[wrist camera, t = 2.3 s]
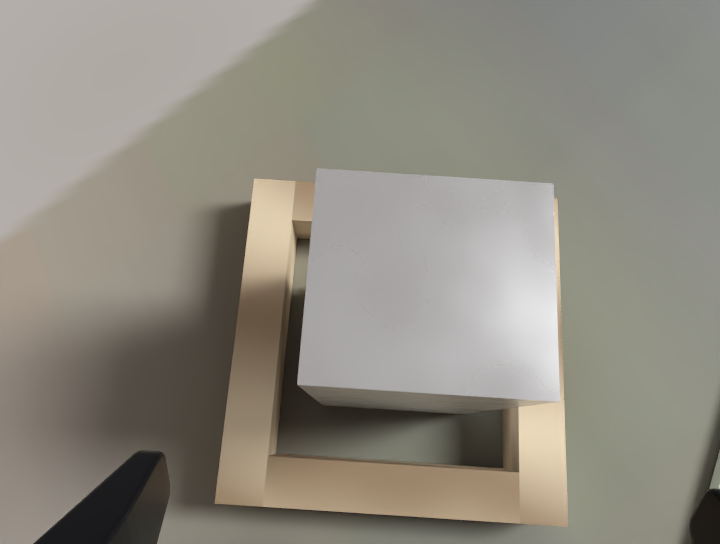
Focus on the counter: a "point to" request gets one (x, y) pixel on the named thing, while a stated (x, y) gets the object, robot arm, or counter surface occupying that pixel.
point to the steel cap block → (430, 293)
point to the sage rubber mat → (716, 475)
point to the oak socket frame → (349, 475)
